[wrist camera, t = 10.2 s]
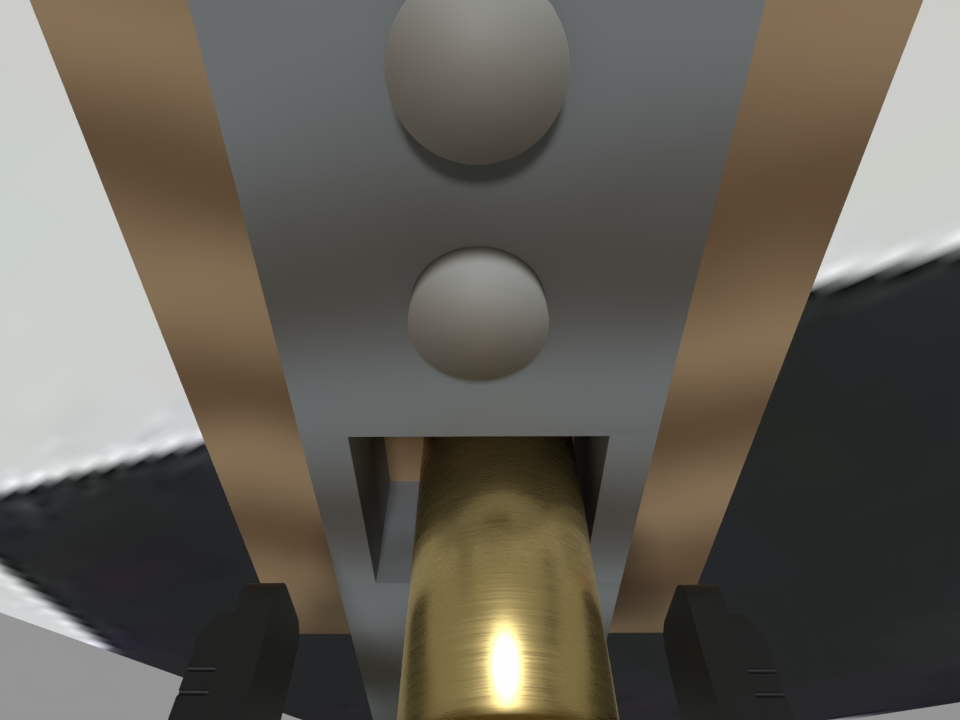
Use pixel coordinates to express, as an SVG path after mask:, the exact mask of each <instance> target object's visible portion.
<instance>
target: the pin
mask: <svg viewBox="0 0 960 720" xmlns="http://www.w3.org/2000/svg"><path fill="white" fill-rule="evenodd" d="M397 720H619V714H618V708H617V702H616V696H615V690H614V684H613V678H612V672H611V666H610V660H609V654H608V648H607V642H606V636H605V630H604V624H603V618H602V612H601V606H600V600H599V594H598V588H597V582H596V576H595V570H594V564H593V558H592V552H591V546H590V540H589V534H588V528H587V522H586V516H585V510H584V504H583V498H582V492H581V486H580V480H579V474H578V468H577V462H576V456H575V450H574V444H573V438H572V436H454V437H424V438H423V448H422V459H421V469H420V480H419V491H418V501H417V512H416V522H415V533H414V543H413V554H412V564H411V575H410V586H409V596H408V607H407V617H406V628H405V638H404V649H403V660H402V670H401V681H400V691H399V702H398V712H397Z"/></svg>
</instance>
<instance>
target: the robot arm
mask: <svg viewBox="0 0 960 720" xmlns="http://www.w3.org/2000/svg"><path fill="white" fill-rule="evenodd" d="M663 637H664V646H665V652H666V656H667V661H668V665H669V669H670V673H671V678H672V682H673V686H674V690H675V695H676V699H677V703H678V707H679V712H680V716H681V720H795V718H794V715H793V713H792V710H791V707H790V705H789V702H788V699H787V698H786V697H785V694H784V692H785V691H784V688H783V686H782V683H781V680H780V677H779V675H778V674H777V673H776V667H775V664H774V661H773V658H772V656H771V653H770V650H769V648H768V645H767V642H766V639H765V638H764V637H763V635H762V634H761V633H760V632H759V630H758V629H757V628H756V626H755V625H754V624H753V623H752V621H751V620H750V619H749V617H748V616H747V615H746V614H729V613H728V610H727V607H726V604H725V601H724V598H723V596H722V593H721V591H720V589H719V588H718V587H717V586H716V585H678V586H677V587H676V590H675V592H674V595H673V598H672V601H671V604H670V606H669V609H668V612H667V615H666V618H665V621H664V627H663ZM298 642H299V620H298V617H297V614H296V611H295V608H294V606H293V603H292V600H291V597H290V594H289V591H288V589H287V586H286V584H285V583H247V584H246V585H245V586H244V588H243V590H242V592H241V594H240V597H239V600H238V603H237V606H236V609H235V612H217V613H216V615H215V616H214V617H213V618H212V620H211V621H210V622H209V624H208V625H207V626H206V627H205V629H204V630H203V631H202V633H201V634H200V635H199V636H198V638H197V641H196V644H195V646H194V649H193V652H192V655H191V657H190V660H189V663H188V666H187V667H188V669H187V671H186V672H185V674H184V677H183V679H182V682H181V685H180V688H179V694H178V696H176V698H175V701H174V704H173V707H172V709H171V712H170V715H169V718H168V720H281V718H282V713H283V709H284V705H285V701H286V696H287V692H288V688H289V683H290V679H291V675H292V670H293V666H294V662H295V658H296V653H297V649H298Z"/></svg>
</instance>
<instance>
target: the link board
mask: <svg viewBox="0 0 960 720" xmlns="http://www.w3.org/2000/svg"><path fill="white" fill-rule="evenodd" d="M922 2H923V0H30V3H31V5H32V8H33V10H34V13H35V15H36V18H37V20H38V23H39V25H40V28H41V30H42V33H43V35H44V38H45V40H46V43H47V45H48V48H49V50H50V53H51V56H52V58H53V61H54V63H55V66H56V68H57V71H58V73H59V76H60V78H61V81H62V83H63V86H64V88H65V91H66V93H67V96H68V98H69V101H70V104H71V106H72V109H73V111H74V114H75V116H76V119H77V121H78V124H79V126H80V129H81V131H82V134H83V136H84V139H85V141H86V144H87V146H88V149H89V151H90V154H91V157H92V159H93V162H94V164H95V167H96V169H97V172H98V174H99V177H100V179H101V182H102V184H103V187H104V189H105V192H106V194H107V197H108V199H109V202H110V204H111V207H112V210H113V212H114V215H115V217H116V220H117V222H118V225H119V227H120V230H121V232H122V235H123V237H124V240H125V242H126V245H127V247H128V250H129V252H130V255H131V257H132V260H133V263H134V265H135V268H136V270H137V273H138V275H139V278H140V280H141V283H142V285H143V288H144V290H145V293H146V295H147V298H148V300H149V303H150V305H151V308H152V310H153V313H154V316H155V318H156V321H157V323H158V326H159V328H160V331H161V333H162V336H163V338H164V341H165V343H166V346H167V348H168V351H169V353H170V356H171V358H172V361H173V363H174V366H175V369H176V371H177V374H178V376H179V379H180V381H181V384H182V386H183V389H184V391H185V394H186V396H187V399H188V401H189V404H190V406H191V409H192V411H193V414H194V416H195V419H196V422H197V424H198V427H199V429H200V432H201V434H202V437H203V439H204V442H205V444H206V447H207V449H208V452H209V454H210V457H211V459H212V462H213V464H214V467H215V469H216V472H217V475H218V477H219V480H220V482H221V485H222V487H223V490H224V492H225V495H226V497H227V500H228V502H229V505H230V507H231V510H232V512H233V515H234V517H235V520H236V523H237V525H238V528H239V530H240V533H241V535H242V538H243V540H244V543H245V545H246V548H247V550H248V553H249V555H250V558H251V560H252V563H253V565H254V568H255V570H256V573H257V576H258V578H259V581H260V583H285V584H286V586H287V589H288V591H289V594H290V597H291V600H292V603H293V606H294V608H295V611H296V614H297V617H298V620H299V634H351V636H352V640H353V644H354V648H355V652H356V656H357V660H358V664H359V667H360V671H361V675H362V679H363V683H364V687H365V691H366V695H367V698H368V702H369V706H370V710H371V714H372V718H373V720H397V712H398V702H399V691H400V681H401V670H402V660H403V649H404V638H405V628H406V617H407V607H408V596H409V586H410V575H411V564H412V554H413V543H414V533H415V522H416V512H417V501H418V491H419V480H420V469H421V459H422V448H423V438H424V437H454V436H572V438H573V444H574V450H575V456H576V462H577V468H578V474H579V480H580V486H581V492H582V498H583V504H584V510H585V516H586V522H587V528H588V534H589V540H590V546H591V552H592V558H593V564H594V570H595V576H596V582H597V588H598V594H599V600H600V606H601V612H602V618H603V624H604V630H605V636H606V640H607V636H608V633H663V627H664V621H665V618H666V615H667V612H668V609H669V606H670V604H671V601H672V598H673V595H674V592H675V590H676V587H677V586H678V585H697V584H698V581H699V579H700V576H701V574H702V571H703V568H704V566H705V563H706V561H707V558H708V555H709V553H710V550H711V548H712V545H713V543H714V540H715V537H716V535H717V532H718V530H719V527H720V524H721V522H722V519H723V517H724V514H725V511H726V509H727V506H728V504H729V501H730V499H731V496H732V493H733V491H734V488H735V486H736V483H737V480H738V478H739V475H740V473H741V470H742V468H743V465H744V462H745V460H746V457H747V455H748V452H749V449H750V447H751V444H752V442H753V439H754V437H755V434H756V431H757V429H758V426H759V424H760V421H761V418H762V416H763V413H764V411H765V408H766V406H767V403H768V400H769V398H770V395H771V393H772V390H773V387H774V385H775V382H776V380H777V377H778V375H779V372H780V369H781V367H782V364H783V362H784V359H785V356H786V354H787V351H788V349H789V346H790V344H791V341H792V338H793V336H794V333H795V331H796V328H797V325H798V323H799V320H800V318H801V315H802V313H803V310H804V307H805V305H806V302H807V300H808V297H809V294H810V292H811V289H812V287H813V284H814V282H815V279H816V276H817V274H818V271H819V269H820V266H821V263H822V261H823V258H824V256H825V253H826V251H827V248H828V245H829V243H830V240H831V238H832V235H833V232H834V230H835V227H836V225H837V222H838V219H839V217H840V214H841V212H842V209H843V207H844V204H845V201H846V199H847V196H848V194H849V191H850V188H851V186H852V183H853V181H854V178H855V176H856V173H857V170H858V168H859V165H860V163H861V160H862V157H863V155H864V152H865V150H866V147H867V145H868V142H869V139H870V137H871V134H872V132H873V129H874V126H875V124H876V121H877V119H878V116H879V114H880V111H881V108H882V106H883V103H884V101H885V98H886V95H887V93H888V90H889V88H890V85H891V83H892V80H893V77H894V75H895V72H896V70H897V67H898V64H899V62H900V59H901V57H902V54H903V52H904V49H905V46H906V44H907V41H908V39H909V36H910V33H911V31H912V28H913V26H914V23H915V21H916V18H917V15H918V13H919V10H920V8H921V5H922Z"/></svg>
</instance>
